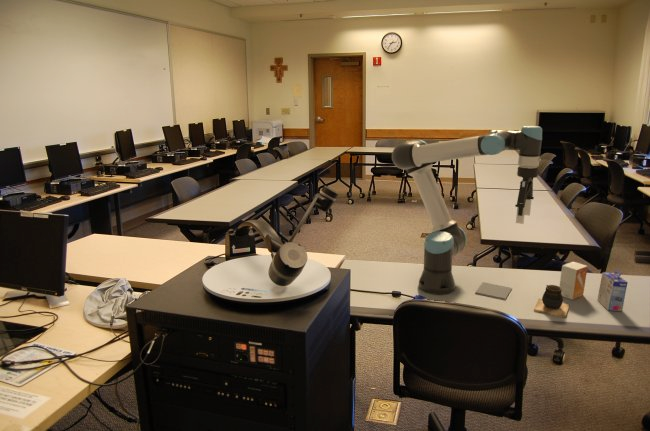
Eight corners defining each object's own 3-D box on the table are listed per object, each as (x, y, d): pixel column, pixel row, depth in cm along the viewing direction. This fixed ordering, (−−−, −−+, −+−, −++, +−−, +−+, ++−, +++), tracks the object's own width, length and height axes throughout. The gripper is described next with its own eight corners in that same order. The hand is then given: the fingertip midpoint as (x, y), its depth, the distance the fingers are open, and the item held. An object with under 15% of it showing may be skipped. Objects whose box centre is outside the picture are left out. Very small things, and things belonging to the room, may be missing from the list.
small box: (572, 300, 192) (576, 270, 189) (557, 294, 197) (561, 265, 194) (583, 295, 197) (588, 265, 193) (569, 290, 202) (572, 261, 198)
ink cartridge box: (623, 311, 182) (629, 276, 178) (608, 311, 183) (613, 276, 179) (611, 300, 192) (616, 266, 188) (596, 300, 192) (601, 266, 189)
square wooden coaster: (534, 310, 184) (534, 309, 184) (538, 300, 193) (538, 298, 193) (565, 317, 178) (565, 315, 178) (569, 306, 187) (569, 304, 187)
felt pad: (475, 293, 200) (475, 292, 200) (482, 283, 210) (482, 282, 209) (505, 299, 194) (505, 298, 193) (511, 289, 203) (511, 287, 203)
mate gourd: (566, 307, 185) (569, 283, 182) (554, 313, 181) (557, 288, 178) (548, 300, 190) (551, 277, 188) (537, 306, 186) (539, 282, 184)
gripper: (533, 172, 174) (527, 228, 180) (543, 162, 195) (538, 212, 200) (511, 170, 178) (506, 225, 184) (524, 161, 199) (519, 210, 204)
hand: (523, 219), depth 192 cm, fingers open, 13 cm apart
